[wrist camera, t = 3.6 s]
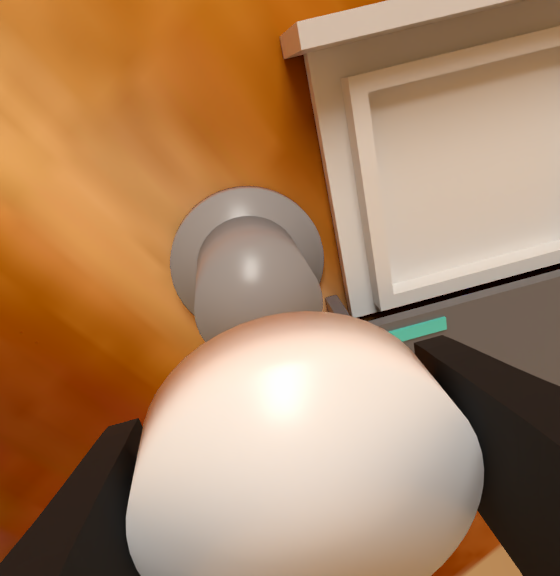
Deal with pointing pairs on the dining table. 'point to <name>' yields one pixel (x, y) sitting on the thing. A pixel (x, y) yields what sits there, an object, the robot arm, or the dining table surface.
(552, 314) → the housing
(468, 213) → the tray
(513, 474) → the robot arm
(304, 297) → the grey cup
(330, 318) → the beige rounded shape
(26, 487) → the dining table surface
